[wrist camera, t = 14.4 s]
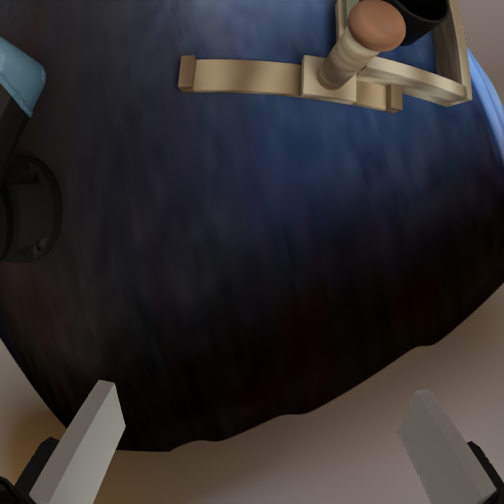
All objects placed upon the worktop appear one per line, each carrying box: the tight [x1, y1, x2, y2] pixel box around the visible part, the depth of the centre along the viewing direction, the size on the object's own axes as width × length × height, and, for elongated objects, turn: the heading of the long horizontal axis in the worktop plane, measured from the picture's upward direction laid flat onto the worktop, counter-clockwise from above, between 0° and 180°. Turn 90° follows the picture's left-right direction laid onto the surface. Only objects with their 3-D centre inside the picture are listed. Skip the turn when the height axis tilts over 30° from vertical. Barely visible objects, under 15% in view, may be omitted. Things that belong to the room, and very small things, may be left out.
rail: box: [178, 55, 402, 113], centre depth 31 cm, size 26×4×2 cm, turn 87°
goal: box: [356, 0, 472, 107], centre depth 27 cm, size 15×19×6 cm
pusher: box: [300, 0, 406, 105], centre depth 21 cm, size 6×16×19 cm, turn 176°
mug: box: [359, 0, 450, 46], centre depth 25 cm, size 9×12×9 cm
